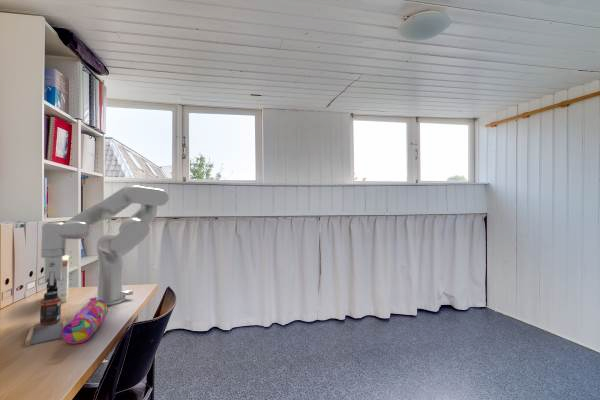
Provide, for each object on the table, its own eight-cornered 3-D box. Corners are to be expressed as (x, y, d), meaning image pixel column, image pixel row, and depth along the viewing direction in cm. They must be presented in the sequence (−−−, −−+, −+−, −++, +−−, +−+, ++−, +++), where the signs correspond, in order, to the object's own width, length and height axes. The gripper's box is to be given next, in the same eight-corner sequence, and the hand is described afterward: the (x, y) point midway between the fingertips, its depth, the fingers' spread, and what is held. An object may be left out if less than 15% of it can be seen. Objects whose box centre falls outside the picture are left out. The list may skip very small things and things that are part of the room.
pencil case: (79, 322, 110) (80, 298, 111) (108, 318, 114) (108, 295, 114) (59, 348, 91) (60, 320, 91) (95, 343, 95) (95, 315, 95)
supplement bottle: (64, 320, 111) (64, 291, 111) (46, 326, 106) (47, 296, 106) (54, 318, 113) (54, 289, 113) (36, 324, 107) (36, 294, 108)
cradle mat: (66, 323, 108) (66, 319, 108) (65, 337, 97) (65, 333, 97) (30, 330, 102) (30, 326, 102) (25, 346, 91) (25, 341, 91)
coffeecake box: (50, 295, 139) (51, 255, 139) (68, 293, 143) (69, 254, 143) (46, 305, 127) (47, 261, 127) (66, 302, 131) (68, 259, 131)
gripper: (64, 254, 112) (63, 301, 112) (66, 249, 124) (64, 291, 124) (39, 256, 108) (37, 305, 107) (42, 250, 119) (41, 294, 119)
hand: (51, 297), depth 116 cm, fingers closed
